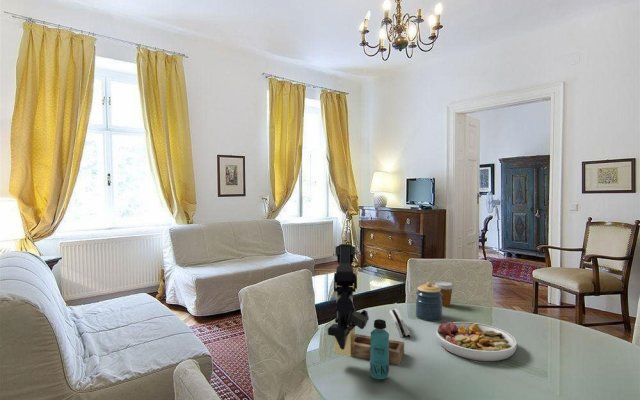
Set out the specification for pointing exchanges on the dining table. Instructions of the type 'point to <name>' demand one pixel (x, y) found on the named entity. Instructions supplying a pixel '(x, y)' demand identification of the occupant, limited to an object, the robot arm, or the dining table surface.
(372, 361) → the beverage bottle
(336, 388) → the dining table surface
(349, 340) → the tan block
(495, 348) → the charcuterie platter
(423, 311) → the canister
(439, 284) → the disposable coffee cup
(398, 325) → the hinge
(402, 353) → the recessed tan tray
